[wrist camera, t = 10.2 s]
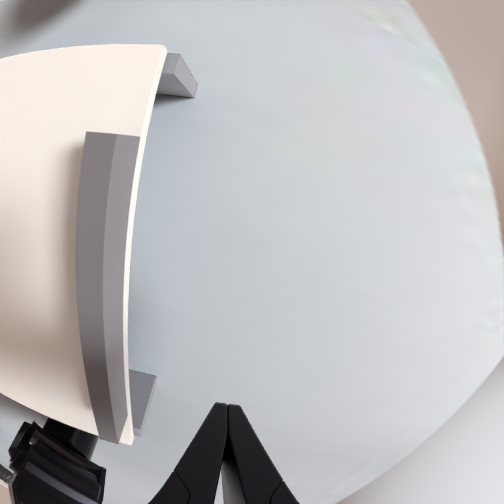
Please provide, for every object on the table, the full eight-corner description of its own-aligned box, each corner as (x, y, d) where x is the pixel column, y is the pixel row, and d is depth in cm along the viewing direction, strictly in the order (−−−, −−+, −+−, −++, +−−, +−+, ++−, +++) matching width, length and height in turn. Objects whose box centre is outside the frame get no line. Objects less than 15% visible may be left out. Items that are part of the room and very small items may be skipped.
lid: (133, 437, 18) (124, 471, 14) (-11, 378, 16) (-28, 401, 13) (167, 51, 10) (146, 22, 7) (-32, 71, 8) (-66, 67, 5)
